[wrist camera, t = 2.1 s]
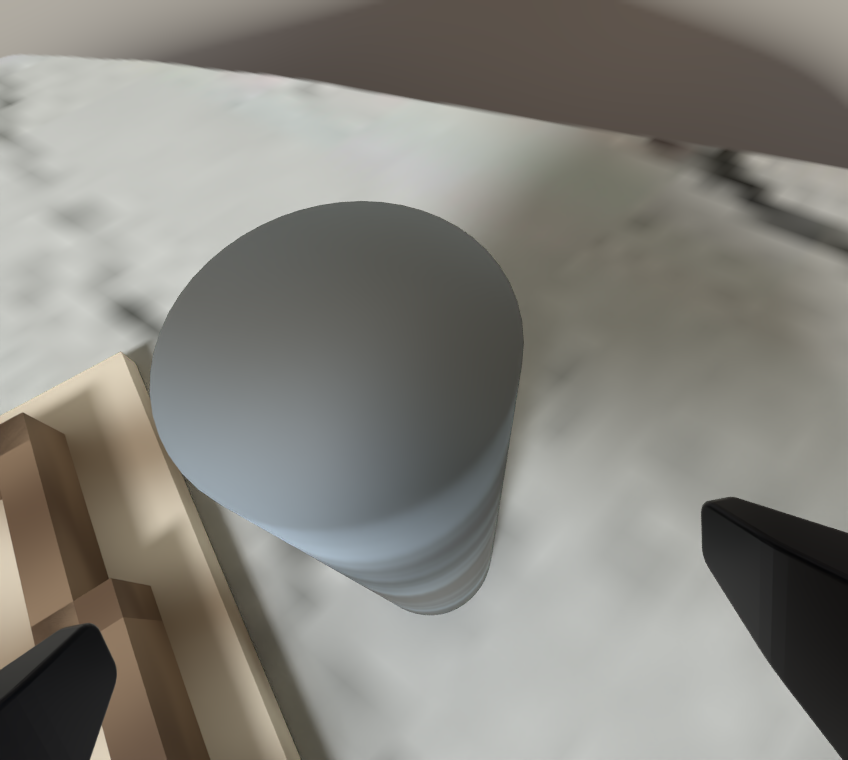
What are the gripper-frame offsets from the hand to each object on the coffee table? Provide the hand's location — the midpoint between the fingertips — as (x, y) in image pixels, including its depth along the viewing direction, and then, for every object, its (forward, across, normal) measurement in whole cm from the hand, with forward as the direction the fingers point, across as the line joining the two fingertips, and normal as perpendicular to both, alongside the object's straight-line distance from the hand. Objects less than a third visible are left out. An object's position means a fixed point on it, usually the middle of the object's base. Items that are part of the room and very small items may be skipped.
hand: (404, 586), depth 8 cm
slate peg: (+8, 0, +5) cm, 10 cm away
